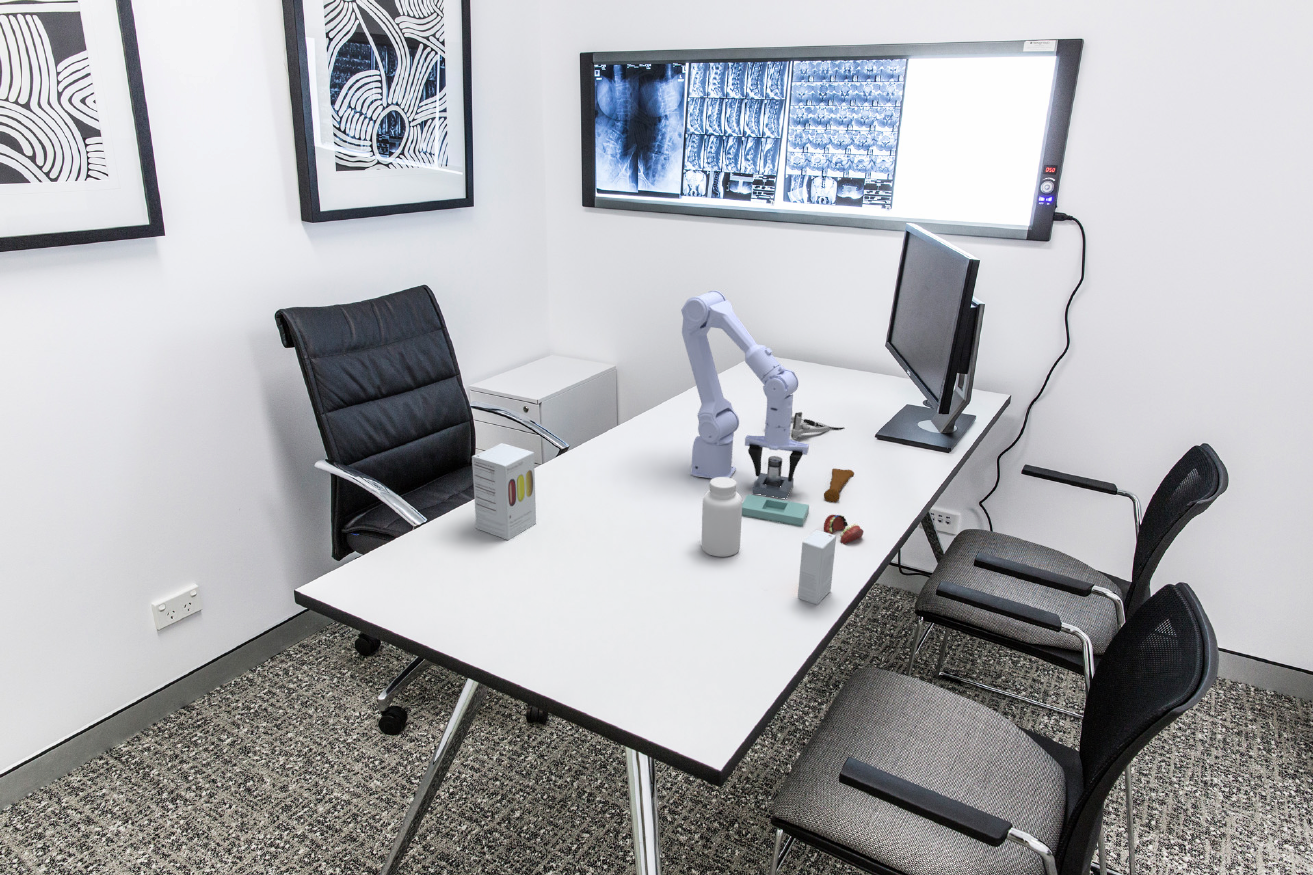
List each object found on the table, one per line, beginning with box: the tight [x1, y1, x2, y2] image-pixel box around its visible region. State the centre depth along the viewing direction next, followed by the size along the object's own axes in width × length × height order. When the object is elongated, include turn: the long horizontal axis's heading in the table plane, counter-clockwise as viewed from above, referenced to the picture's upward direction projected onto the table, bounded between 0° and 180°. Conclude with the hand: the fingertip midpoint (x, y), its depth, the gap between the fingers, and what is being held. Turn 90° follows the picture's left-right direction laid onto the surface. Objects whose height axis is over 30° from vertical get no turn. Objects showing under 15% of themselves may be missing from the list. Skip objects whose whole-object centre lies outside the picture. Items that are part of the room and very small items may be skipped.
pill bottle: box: [701, 477, 743, 558], centre depth 171 cm, size 8×8×15 cm
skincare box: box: [797, 529, 837, 605], centre depth 156 cm, size 6×4×12 cm
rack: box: [742, 493, 810, 527], centre depth 188 cm, size 14×7×2 cm, turn 70°
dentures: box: [823, 514, 864, 545], centre depth 179 cm, size 6×4×8 cm
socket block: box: [751, 472, 795, 500], centre depth 199 cm, size 8×8×2 cm
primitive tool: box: [823, 468, 855, 503], centre depth 202 cm, size 19×6×4 cm, turn 162°
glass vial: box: [766, 455, 783, 487], centre depth 198 cm, size 3×3×8 cm
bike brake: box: [764, 411, 845, 439], centre depth 235 cm, size 14×7×20 cm
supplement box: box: [471, 442, 537, 541], centre depth 177 cm, size 10×9×17 cm
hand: (774, 477), depth 198 cm, fingers open, 7 cm apart
